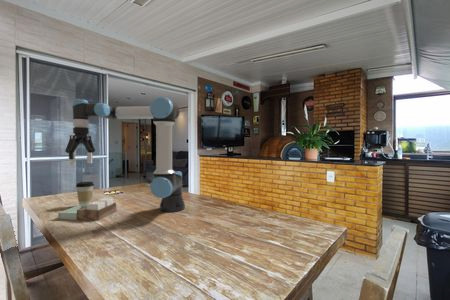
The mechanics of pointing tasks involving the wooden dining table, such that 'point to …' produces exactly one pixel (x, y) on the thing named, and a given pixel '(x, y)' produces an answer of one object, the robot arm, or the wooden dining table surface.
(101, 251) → the wooden dining table surface
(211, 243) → the wooden dining table surface
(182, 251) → the wooden dining table surface
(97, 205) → the tile
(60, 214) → the tray
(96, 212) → the board
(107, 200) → the tile
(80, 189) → the coffee cup
